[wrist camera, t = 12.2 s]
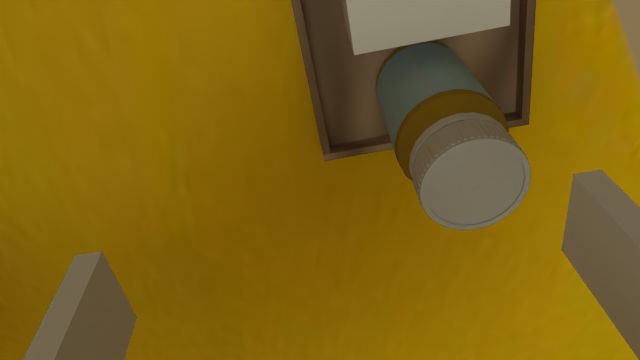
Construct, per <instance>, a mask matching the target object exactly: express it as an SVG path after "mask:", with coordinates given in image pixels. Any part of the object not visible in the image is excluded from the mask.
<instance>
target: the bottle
mask: <svg viewBox="0 0 640 360" xmlns="http://www.w3.org/2000/svg"><path fill="white" fill-rule="evenodd" d="M376 94H377V100H378V103H379V106H380V109H381V112H382V115H383V118H384V121H385V124H386V127H387V130H388V133H389V136H390V139H391V142H392V145H393V148H394V151H395V154H396V157H397V160H398V162H399V164H400V166H401V168H402V170H403V171H404V173H405V175H406V176H407V177H408V178H409V179H411V180H412V181H413V184H414V187H415V189H416V192H417V195H418V198H419V201H420V203H421V205H422V207H423V209H424V210H425V212H426V213H427V214H428V215H429V216H430V217H431V218H432V219H433V220H434V221H435V222H437V223H439V224H440V225H443V226H445V227H448V228H452V229H458V230H471V229H478V228H482V227H485V226H488V225H491V224H493V223H496V222H498V221H499V220H501V219H503V218H504V217H506V216H507V215H509V214H510V213H511V212H512V211H513V210H514V209H515V208H516V207H517V206H518V205H519V204H520V203H521V201H522V200H523V198H524V197H525V195H526V193H527V190H528V188H529V184H530V178H531V172H530V166H529V162H528V159H527V157H526V155H525V154H524V152H523V151H522V149H521V148H520V147H519V145H518V144H517V143H516V142H515V140H514V139H513V138H512V136H511V135H510V134H509V131H508V124H507V122H506V119H505V117H504V114H503V113H502V111H501V110H500V108H499V107H498V105H497V104H496V103H495V102H494V100H493V99H492V98H491V97H490V95H489V94H488V93H487V92H486V90H485V89H484V88H483V87H482V85H481V84H480V83H479V82H478V80H477V79H476V78H475V76H474V75H473V74H472V73H471V71H470V70H469V69H468V68H467V66H466V65H465V64H464V63H463V61H462V60H461V59H460V58H459V57H458V56H457V55H456V54H455V53H454V52H453V51H452V50H451V49H450V48H449V47H447V46H445V45H443V44H441V43H439V42H435V41H426V42H421V43H415V44H410V45H405V46H403V47H401V48H399V49H397V50H396V51H394V52H393V53H392V54H391V55H390V56H389V57H388V58H387V59H386V60H385V62H384V63H383V65H382V67H381V69H380V70H379V73H378V75H377V81H376Z"/></svg>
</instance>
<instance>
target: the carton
mask: <svg viewBox="0 0 640 360" xmlns="http://www.w3.org/2000/svg"><path fill="white" fill-rule="evenodd" d="M510 4H511V0H342V6H343V12H344V19H345V25H346V30H347V33H348V36H349V40H350V43H351V46H352V50H353V53H354V55H358V54H363V53H369V52H374V51H379V50H384V49H389V48H395V47H400V46H405V45H410V44H415V43H421V42H426V41H431V40H436V39H441V38H447V37H452V36H457V35H462V34H467V33H473V32H478V31H483V30H488V29H493V28H499V27H504V26H509V25H510Z"/></svg>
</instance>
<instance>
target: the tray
mask: <svg viewBox="0 0 640 360" xmlns="http://www.w3.org/2000/svg"><path fill="white" fill-rule="evenodd" d="M291 1H292V6H293V11H294V16H295V21H296V25H297V30H298V35H299V40H300V45H301V49H302V54H303V59H304V64H305V69H306V73H307V78H308V83H309V88H310V93H311V98H312V102H313V107H314V112H315V117H316V122H317V126H318V131H319V136H320V141H321V146H322V150H323V155H324V160H325V161H328V160H333V159H339V158H344V157H350V156H355V155H361V154H366V153H372V152H378V151H383V150H389V149H394V148H393V145H392V142H391V139H390V136H389V133H388V130H387V127H386V124H385V121H384V118H383V115H382V112H381V109H380V106H379V103H378V100H377V94H376V81H377V75H378V73H379V70H380V69H381V67H382V65H383V63H384V62H385V60H386V59H387V58H388V57H389V56H390V55H391V54H392V53H393V52H394V51H396V50H397V49H399V48H401V47H403V46H400V47H395V48H389V49H384V50H379V51H374V52H369V53H363V54H358V55H354V53H353V50H352V46H351V43H350V40H349V36H348V33H347V30H346V25H345V19H344V12H343V6H342V0H291ZM535 8H536V0H511V4H510V25H509V26H504V27H499V28H493V29H488V30H483V31H478V32H473V33H467V34H462V35H457V36H452V37H447V38H441V39H436V40H431V41H435V42H439V43H441V44H443V45H445V46H447V47H449V48H450V49H451V50H452V51H453V52H454V53H455V54H456V55H457V56H458V57H459V58H460V59H461V60H462V61H463V63H464V64H465V65H466V66H467V68H468V69H469V70H470V71H471V73H472V74H473V75H474V76H475V78H476V79H477V80H478V82H479V83H480V84H481V85H482V87H483V88H484V89H485V90H486V92H487V93H488V94H489V95H490V97H491V98H492V99H493V100H494V102H495V103H496V104H497V105H498V107H499V108H500V110H501V111H502V113H503V114H504V117H505V119H506V122H507V124H508V128H511V127H516V126H522V125H528V124H529V113H530V95H531V78H532V60H533V43H534V26H535Z"/></svg>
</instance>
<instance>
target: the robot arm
mask: <svg viewBox="0 0 640 360" xmlns="http://www.w3.org/2000/svg"><path fill="white" fill-rule="evenodd" d="M562 251H563V252H564V254H565V255H566V257H567V258H568V260H569V261H570V262H571V264H572V265H573V267H574V268H575V269H576V271H577V272H578V274H579V275H580V277H581V278H582V279H583V281H584V282H585V284H586V285H587V287H588V288H589V289H590V291H591V292H592V294H593V295H594V296H595V298H596V299H597V301H598V302H599V304H600V305H601V306H602V308H603V309H604V311H605V312H606V314H607V315H608V316H609V318H610V319H611V321H612V322H613V324H614V325H615V326H616V328H617V329H618V331H619V332H620V333H621V335H622V336H623V338H624V339H625V341H626V342H627V343H628V345H629V346H630V348H631V349H632V351H633V352H634V353H635V355H636V356H637V358H638V359H639V360H640V207H639V206H638V205H637V204H636V203H635V202H634V201H633V200H632V199H631V198H630V197H629V196H628V195H627V194H626V193H625V192H624V191H623V190H622V189H621V188H620V187H619V186H618V185H617V184H615V183H614V182H613V181H612V180H611V179H610V178H609V177H608V176H607V175H606V174H605V173H604V172H603V171H602V170H597V171H591V172H585V173H579V174H573V181H572V187H571V193H570V200H569V206H568V213H567V219H566V226H565V232H564V239H563V245H562ZM136 319H137V317H136V315H135V313H134V311H133V309H132V307H131V305H130V303H129V302H128V300H127V298H126V296H125V294H124V292H123V290H122V288H121V286H120V284H119V283H118V281H117V279H116V277H115V275H114V273H113V271H112V269H111V267H110V265H109V264H108V262H107V260H106V258H105V256H104V254H103V252H102V251H100V252H94V253H88V254H82V255H75V257H74V259H73V261H72V263H71V265H70V267H69V269H68V271H67V273H66V275H65V277H64V279H63V281H62V283H61V285H60V287H59V289H58V291H57V293H56V295H55V297H54V299H53V301H52V303H51V305H50V307H49V309H48V311H47V313H46V315H45V317H44V319H43V321H42V323H41V325H40V327H39V329H38V331H37V332H36V334H35V336H34V338H33V340H32V342H31V344H30V346H29V348H28V350H27V352H26V354H25V356H24V358H23V360H124V358H125V355H126V351H127V348H128V345H129V341H130V338H131V335H132V332H133V328H134V325H135V322H136Z"/></svg>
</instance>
